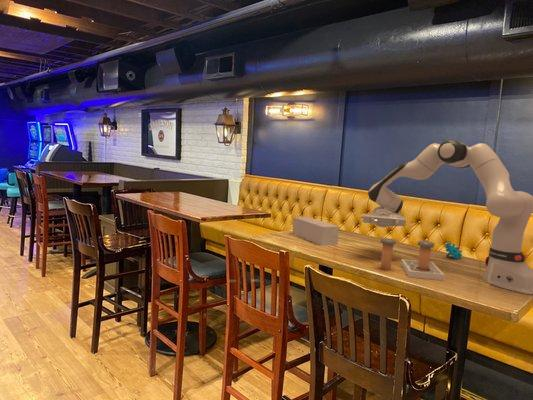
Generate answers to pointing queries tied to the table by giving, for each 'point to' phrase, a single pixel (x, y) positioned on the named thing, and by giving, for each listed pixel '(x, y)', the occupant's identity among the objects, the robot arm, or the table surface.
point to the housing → (414, 272)
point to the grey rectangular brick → (316, 230)
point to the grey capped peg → (424, 254)
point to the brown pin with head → (387, 253)
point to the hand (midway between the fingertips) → (385, 222)
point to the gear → (453, 251)
